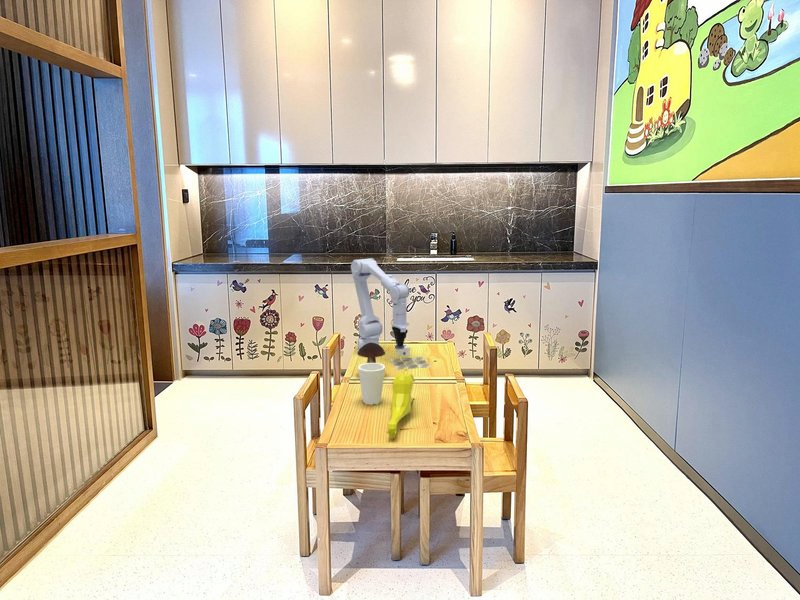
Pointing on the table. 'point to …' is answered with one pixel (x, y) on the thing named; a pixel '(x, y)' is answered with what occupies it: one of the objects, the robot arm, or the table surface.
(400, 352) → the die
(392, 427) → the banana
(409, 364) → the board
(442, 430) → the table surface
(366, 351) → the decorative mushroom
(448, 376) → the table surface
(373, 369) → the foam cup
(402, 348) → the pawn
